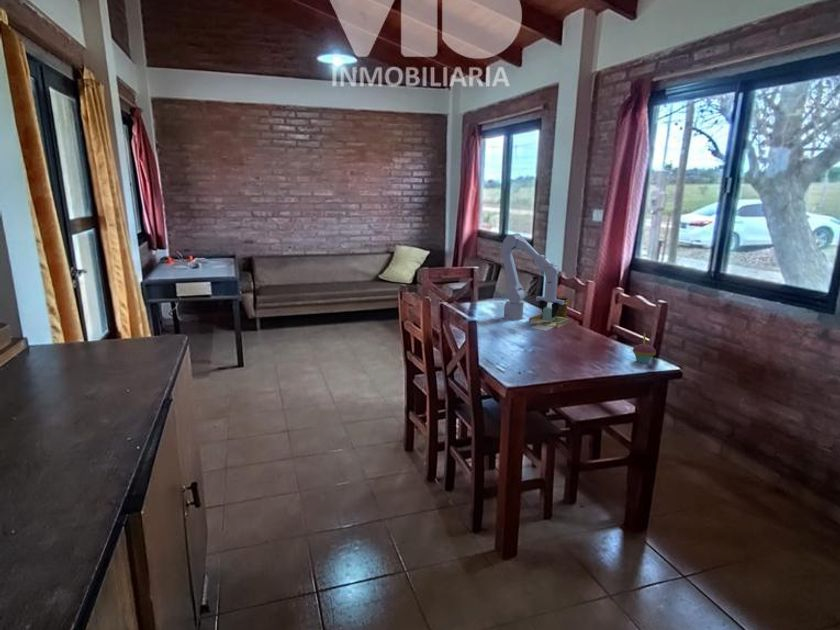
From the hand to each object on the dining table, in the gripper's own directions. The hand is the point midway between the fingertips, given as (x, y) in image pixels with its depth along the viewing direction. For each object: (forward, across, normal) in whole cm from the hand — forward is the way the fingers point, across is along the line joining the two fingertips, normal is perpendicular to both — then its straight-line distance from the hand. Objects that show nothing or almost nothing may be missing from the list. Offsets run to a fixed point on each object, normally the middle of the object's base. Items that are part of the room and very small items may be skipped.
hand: (548, 316), depth 260 cm
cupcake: (+4, -55, +27) cm, 62 cm away
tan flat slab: (+4, 0, -1) cm, 4 cm away
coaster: (+4, -2, +10) cm, 11 cm away
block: (+2, 0, 0) cm, 2 cm away
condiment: (+4, 0, -12) cm, 12 cm away
